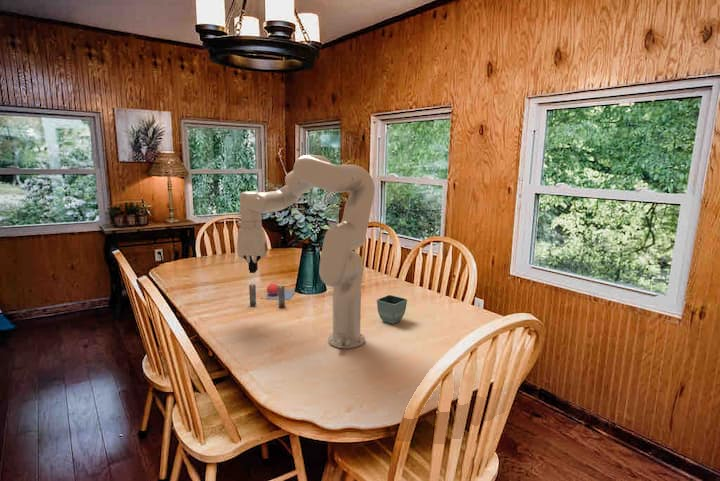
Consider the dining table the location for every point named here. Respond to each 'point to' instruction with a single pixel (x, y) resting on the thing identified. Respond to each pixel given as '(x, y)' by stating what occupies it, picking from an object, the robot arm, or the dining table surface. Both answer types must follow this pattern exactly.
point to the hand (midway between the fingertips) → (253, 272)
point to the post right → (281, 296)
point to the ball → (272, 289)
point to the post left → (252, 295)
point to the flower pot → (391, 308)
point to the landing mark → (287, 295)
